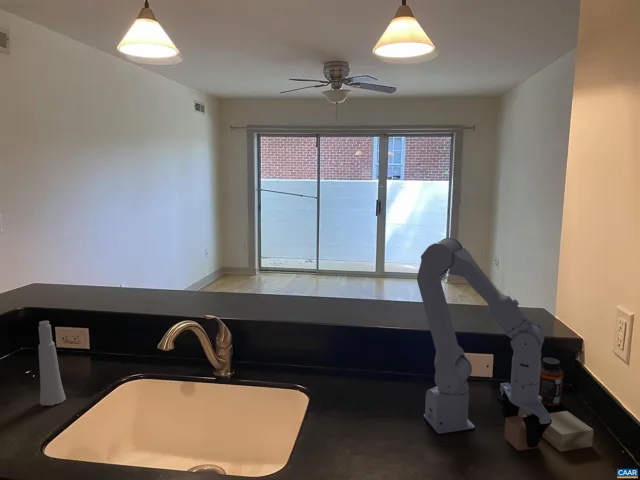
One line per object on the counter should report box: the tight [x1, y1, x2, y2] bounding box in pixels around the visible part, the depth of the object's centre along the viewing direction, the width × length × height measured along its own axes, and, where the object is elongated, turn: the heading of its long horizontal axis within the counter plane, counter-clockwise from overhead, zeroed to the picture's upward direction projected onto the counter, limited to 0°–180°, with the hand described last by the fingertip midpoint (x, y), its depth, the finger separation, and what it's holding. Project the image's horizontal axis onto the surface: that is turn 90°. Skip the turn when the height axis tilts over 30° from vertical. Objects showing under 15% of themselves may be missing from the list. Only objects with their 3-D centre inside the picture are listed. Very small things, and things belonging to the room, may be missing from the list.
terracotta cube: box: [503, 415, 540, 452], centre depth 104 cm, size 5×5×5 cm
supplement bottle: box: [539, 357, 564, 407], centre depth 121 cm, size 6×6×11 cm
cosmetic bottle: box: [38, 320, 67, 406], centre depth 123 cm, size 6×6×22 cm
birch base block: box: [541, 410, 594, 453], centre depth 106 cm, size 8×8×4 cm
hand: (521, 436), depth 105 cm, fingers open, 7 cm apart
